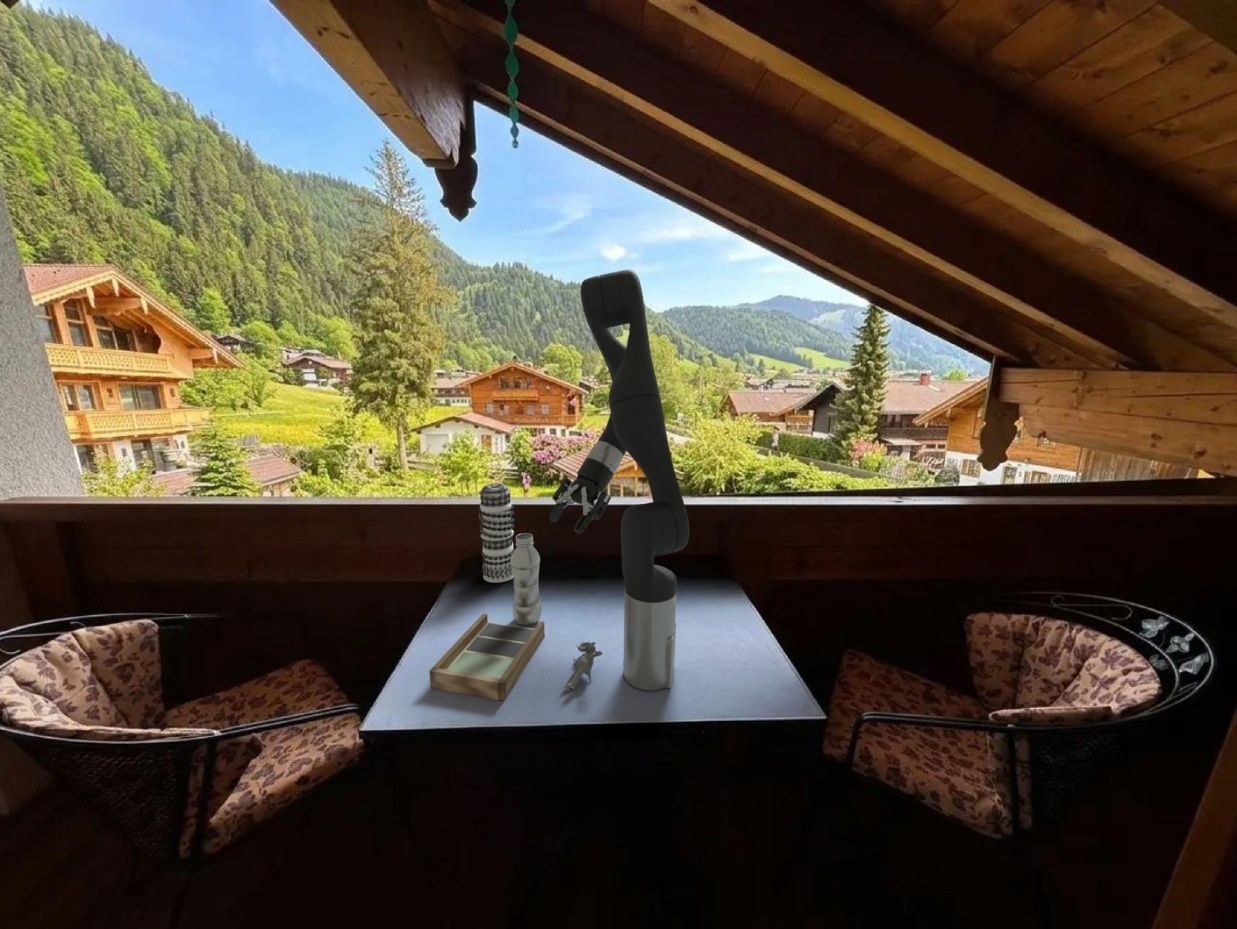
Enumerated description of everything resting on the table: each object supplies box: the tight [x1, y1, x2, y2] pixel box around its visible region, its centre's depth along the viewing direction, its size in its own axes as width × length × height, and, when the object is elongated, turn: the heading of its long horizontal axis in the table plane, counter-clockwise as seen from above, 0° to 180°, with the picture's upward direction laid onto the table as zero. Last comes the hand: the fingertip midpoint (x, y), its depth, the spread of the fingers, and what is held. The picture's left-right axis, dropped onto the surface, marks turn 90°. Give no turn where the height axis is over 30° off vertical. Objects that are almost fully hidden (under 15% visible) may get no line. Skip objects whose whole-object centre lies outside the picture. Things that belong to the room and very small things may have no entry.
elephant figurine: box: [562, 641, 603, 692], centre depth 84 cm, size 10×6×9 cm
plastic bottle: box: [510, 532, 543, 626], centre depth 100 cm, size 6×7×20 cm
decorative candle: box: [476, 482, 515, 584], centre depth 121 cm, size 9×9×25 cm
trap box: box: [428, 613, 546, 702], centre depth 89 cm, size 14×19×4 cm
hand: (564, 526), depth 101 cm, fingers open, 8 cm apart
